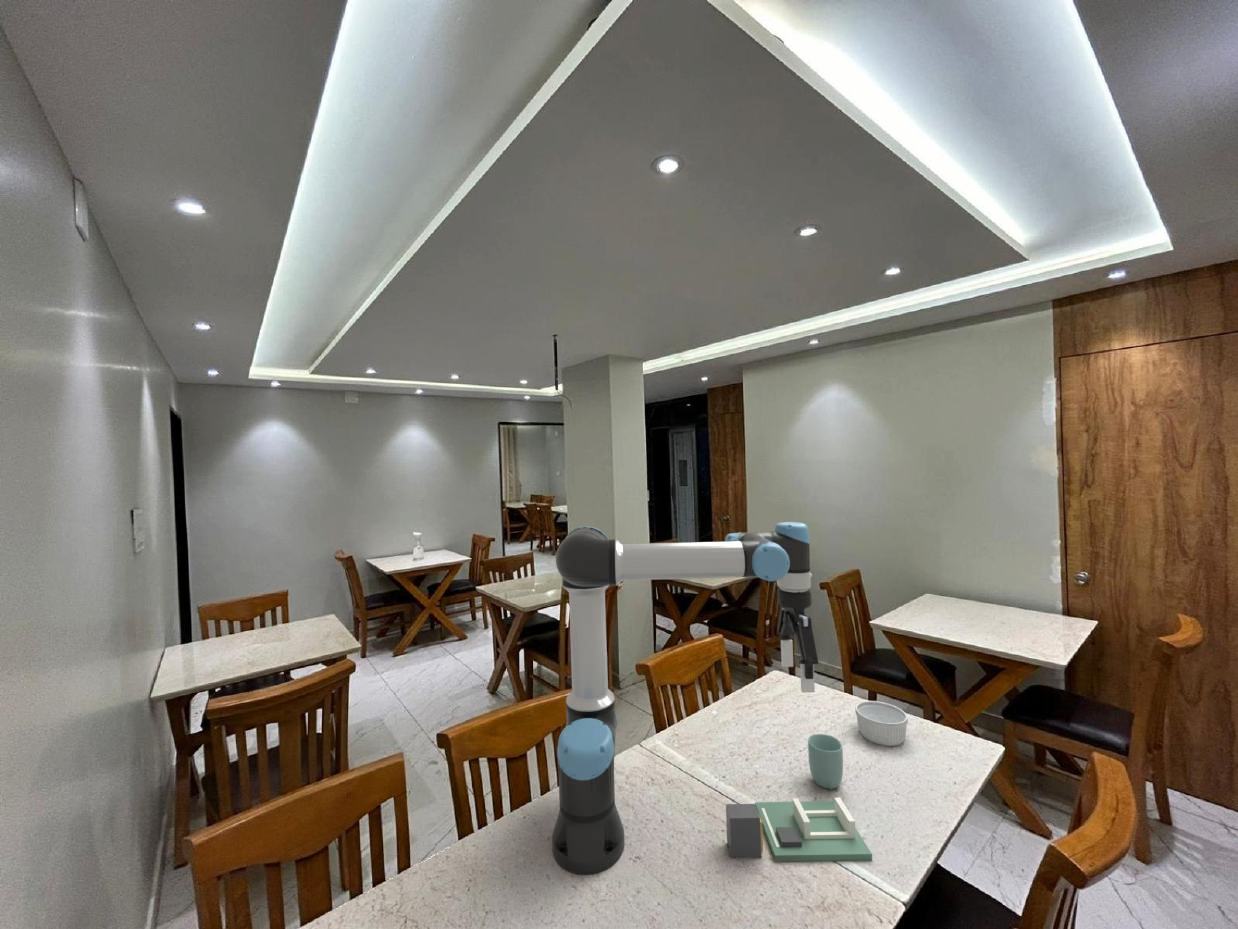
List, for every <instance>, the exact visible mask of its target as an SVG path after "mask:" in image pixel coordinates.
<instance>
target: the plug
mask: <svg viewBox="0 0 1238 929" xmlns="http://www.w3.org/2000/svg"><path fill="white" fill-rule="evenodd" d="M725 815H726V817H725V818H726V844H727V848H728V852H729V855H730V858H731V859H761V858H762V853H764V840H763V839H764V837H763V834H764V833H763V827H762V821H761V818H760V815H759V814H758V811H757V808H756V806H755V803H731V804H730V803H726V804H725Z"/></svg>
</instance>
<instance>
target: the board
mask: <svg viewBox="0 0 1238 929" xmlns="http://www.w3.org/2000/svg"><path fill="white" fill-rule="evenodd" d="M799 799H800V798H798V797H797V798H792V801H761V802H760V801H759V802H758V801H757V802H754V804H755V806H756V808H757V811H758V814H759V815H760V818H761V821H762V831H763V832H764V835H765V837H766V841H767V843H768V845H769V848H770V850H771V854H772V856H773V859H774V861H775V862H779V863H780V862H830V861H831V862H832V861H833V862H834V861H835V862H837V861H838V862H839V861H840V862H841V861H842V862H843V861H845V860H848V861H873V853H872V852H871V850H870V848H869V847H868V845H867V844H866V842H865V840H864V839H863V838H862V836H861V834H860V833H859V831H858V830H857V828H856V821H855V819H854V817H853V816H852V814H851V813H850V812H849V810H848V808H847V806H846V805H845V803H844V802H843V800H842V799H841V797H834V800H823V801H821V800H820V801H819V800H818V801H814V800H813V801H800V800H799Z"/></svg>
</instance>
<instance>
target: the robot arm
mask: <svg viewBox="0 0 1238 929" xmlns="http://www.w3.org/2000/svg"><path fill="white" fill-rule="evenodd" d="M774 526H775V527H774V531H768V532H767V531H766V532H764V531H763V532H762V531H761V532H757V531H756V532H741V531H739V532H732V533H728V534H726V536H725V538H724V541H700V542H699V541H698V542H697V541H696V542H659V543H658V542H657V543H656V542H655V543H654V542H653V543H621V542H620V541H619V540H618V539H609V538H608V536H607V535H606V534H605V533H604V532H603V531H601V530H600V529H598V528H596V527H592V526H581V527H578V528H575V529H573V530H571V531H570V532H569V533H568V534H567V535H566V536H565V539H563V540H562V541H561V543H560V544H559V546H558V548H557V551H556V554H555V566H556V569H557V572H558V573H559V575H560V576H561V579H562V588H563V589H565V590H566V591H567V592H568V598H569V599H568V601H569V603H568V604H569V629H570V630H569V634H570V635H569V636H570V638H569V639H570V662H571V663H570V665H571V668H570V669H571V692H569V694H568V695H567V696H566V700H565V706H566V707H565V709H566V712H565V713H566V714H565V715H566V726H565V727H564V728H563V729H562V731H561V733H560V735H559V737H558V739H557V740H558V741H557V742H558V743H557V747H556V756H557V762H558V763H557V767H558V794H559V795H558V796H559V798H558V799H559V811H558V813H557V816H556V820H555V824H554V827H553V828H554V829H553V832H552V834H551V835H552V837H551V838H552V839H551V845H552V846H551V847H552V848H551V849H552V855H553V857H554V860H555V862H557V864H558V866H560V867H561V868H563V869H564V870H566V871H568V872H570V873H573V874H578V875H590V874H595V873H600V872H603V871H605V870H607V869H609V868H611V866H613V865H614V864H615V863H616V862H617V861H618V860H619V859H620V857H621V856H622V854H623V852H624V848H625V829H624V826H623V823H622V819H621V817H620V814H619V811H618V808H617V806H616V800H615V799H616V796H615V795H616V791H615V753H616V752H615V749H616V736H617V735H616V733H617V727H618V725H617V724H618V717H617V714H616V699H615V694H614V693H613V691H611V689H609V680H608V678H609V677H608V655H607V654H608V652H607V620H606V619H607V618H606V617H607V616H606V614H607V612H606V590H607V589H608V588H609V587H610V586H611V587H612V586H614V587H615V586H619V585H620V584H621V583H622V582H623V581H643V580H644V581H645V580H647V581H648V580H650V581H651V580H683V579H684V580H686V579H725V578H728V579H729V578H730V579H731V578H759V579H761V580H763V581H767V582H776V585H777V587H778V588H777V603H778V604H779V606H780V608H779V609H780V611H779V616H778V623H777V630H776V632H777V634H778V635H779V638H780V655H781V656H780V657H781V658H780V659H781V661H780V663H781V667H782V668H793V667H794V650H793V648H794V647H793V646H794V645H793V642H794V641H793V639H794V635H795V638H796V642H797V647H798V650H799V655H800V659H801V660H799V661H798V663H799V665H800V689H801V690H800V691H801V693H802V694H803V693H816V691H815V690H816V689H815V665H818V664H819V659H818V653H817V649H816V648H817V647H816V644H815V637H814V632H813V626H812V617H811V616H807V615H806V612H805V610H806V609H807V608H810V607H811V606H812V590H811V586H812V585H811V583H812V581H811V578H813V574H812V573H811V542H810V540H811V539H810V530H809V527H808V525H807V524H805V523H803V522H798V521H797V522H795V521H785V522H778V523H776V524H775V525H774ZM793 634H794V635H793Z"/></svg>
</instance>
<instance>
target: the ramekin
mask: <svg viewBox="0 0 1238 929" xmlns="http://www.w3.org/2000/svg"><path fill="white" fill-rule="evenodd" d="M855 715H856V719H857V726H858V730H859V732H860V733H861V734H862V736H863V737H864V738H865V739H867V740H868V741H870V742H872V743H874V744H877V745H880V746H886V747H893V746H894V747H895V746H899V745H901V744H903V743H904V742H905V739H906V737H907V728H908V726H907V725H908V723H909V718H908V714H907V713H906V712H905V711H904V710H903V709H901V708H900V707H898V706H895V705H893V704H890V703H888V702H882V701H876V700H866V701H860V702H859V703H857V704H856V705H855Z"/></svg>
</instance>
